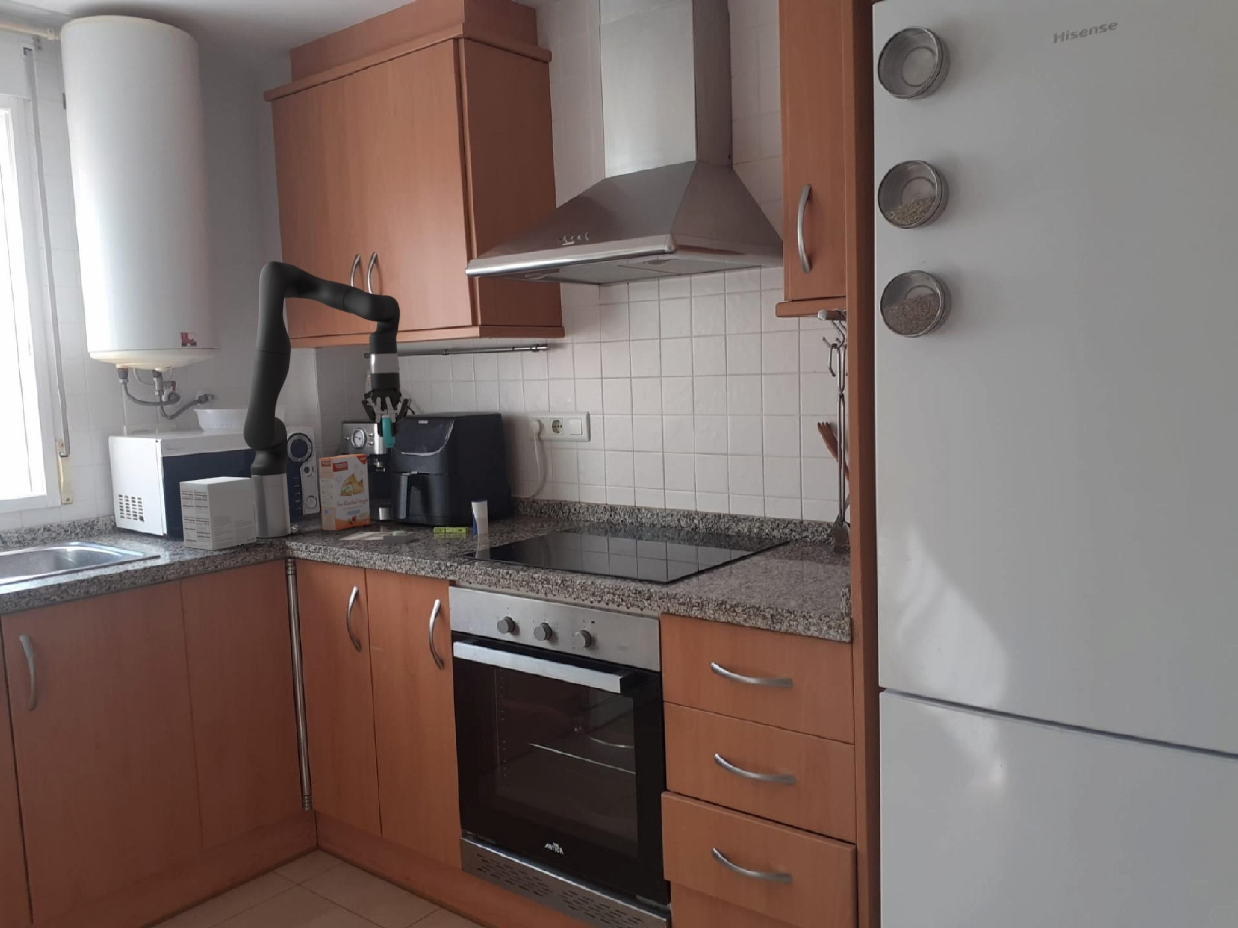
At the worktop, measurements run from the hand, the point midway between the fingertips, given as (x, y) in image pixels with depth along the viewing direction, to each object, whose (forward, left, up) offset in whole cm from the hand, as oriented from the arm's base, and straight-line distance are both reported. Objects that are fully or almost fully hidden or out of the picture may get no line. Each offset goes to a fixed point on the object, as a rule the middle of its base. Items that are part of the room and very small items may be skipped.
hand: (388, 436), depth 260 cm
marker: (0, 0, -3) cm, 3 cm away
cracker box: (-22, +15, -27) cm, 38 cm away
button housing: (+6, -9, -27) cm, 29 cm away
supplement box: (-45, -11, -27) cm, 54 cm away
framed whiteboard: (-5, -1, -27) cm, 28 cm away
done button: (+5, -9, -27) cm, 29 cm away
